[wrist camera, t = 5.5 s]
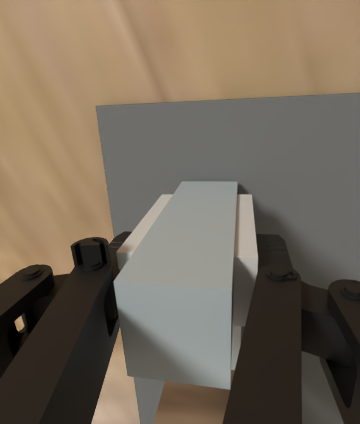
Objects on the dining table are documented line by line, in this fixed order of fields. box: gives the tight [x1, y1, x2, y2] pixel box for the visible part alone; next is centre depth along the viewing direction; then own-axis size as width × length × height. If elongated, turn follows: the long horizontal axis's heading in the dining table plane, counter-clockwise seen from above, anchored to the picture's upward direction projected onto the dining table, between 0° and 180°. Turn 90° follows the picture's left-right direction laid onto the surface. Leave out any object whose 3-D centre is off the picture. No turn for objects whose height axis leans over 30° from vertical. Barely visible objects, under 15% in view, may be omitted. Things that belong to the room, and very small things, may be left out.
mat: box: [96, 93, 360, 424], centre depth 21 cm, size 32×28×1 cm
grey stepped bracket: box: [114, 181, 241, 390], centre depth 16 cm, size 20×4×10 cm, turn 2°
